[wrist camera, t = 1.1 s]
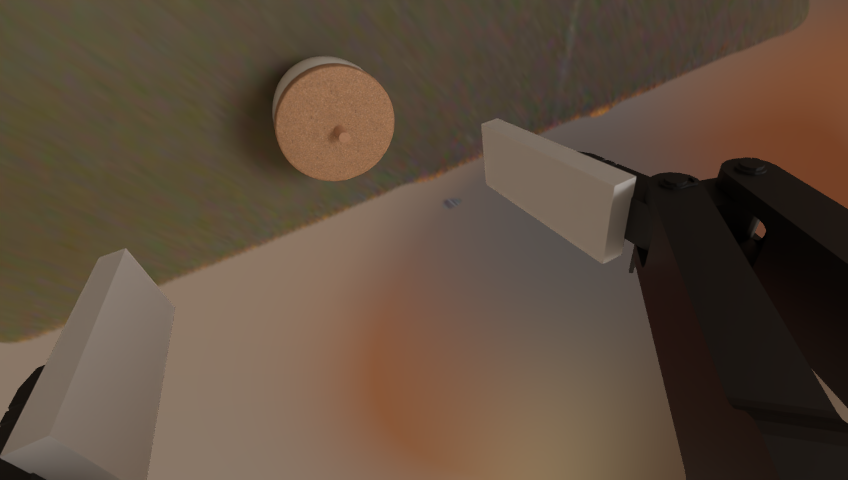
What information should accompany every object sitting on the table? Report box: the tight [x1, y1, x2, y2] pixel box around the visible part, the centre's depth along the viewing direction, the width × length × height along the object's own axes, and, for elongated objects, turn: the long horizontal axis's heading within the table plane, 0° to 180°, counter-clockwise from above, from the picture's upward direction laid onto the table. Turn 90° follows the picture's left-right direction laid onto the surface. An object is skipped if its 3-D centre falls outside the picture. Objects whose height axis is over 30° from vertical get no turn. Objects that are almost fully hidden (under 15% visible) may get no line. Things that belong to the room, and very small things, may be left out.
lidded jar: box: [272, 56, 394, 181], centre depth 35 cm, size 11×11×9 cm
